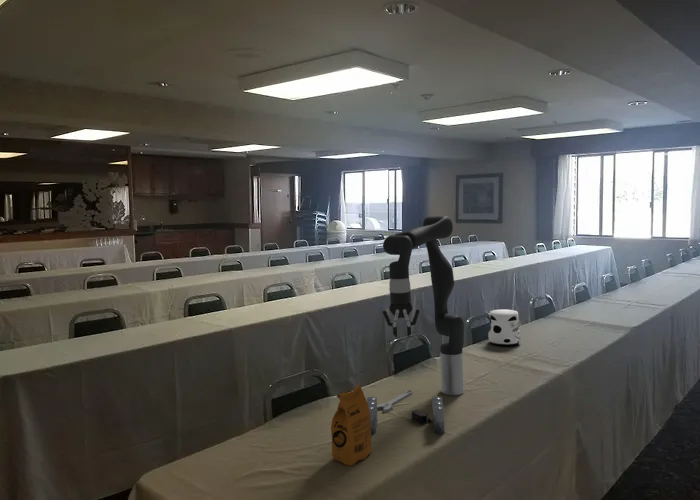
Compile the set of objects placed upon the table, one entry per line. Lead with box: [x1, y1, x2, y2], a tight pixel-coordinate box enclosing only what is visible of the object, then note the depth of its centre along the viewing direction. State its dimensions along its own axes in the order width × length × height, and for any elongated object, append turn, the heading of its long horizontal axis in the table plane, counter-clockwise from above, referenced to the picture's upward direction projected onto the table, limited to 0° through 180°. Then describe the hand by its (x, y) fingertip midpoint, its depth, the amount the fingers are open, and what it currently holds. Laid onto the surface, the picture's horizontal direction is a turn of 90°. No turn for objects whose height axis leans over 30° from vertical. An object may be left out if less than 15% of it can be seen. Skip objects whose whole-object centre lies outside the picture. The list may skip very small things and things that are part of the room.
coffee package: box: [330, 384, 372, 466], centre depth 167 cm, size 10×12×22 cm
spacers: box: [366, 396, 446, 436], centre depth 188 cm, size 13×28×9 cm, turn 84°
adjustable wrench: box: [377, 389, 413, 414], centre depth 212 cm, size 25×6×2 cm, turn 138°
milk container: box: [487, 308, 521, 347], centre depth 292 cm, size 17×17×18 cm
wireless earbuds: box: [411, 409, 433, 425], centre depth 193 cm, size 5×7×3 cm, turn 32°
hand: (402, 336), depth 191 cm, fingers open, 4 cm apart
